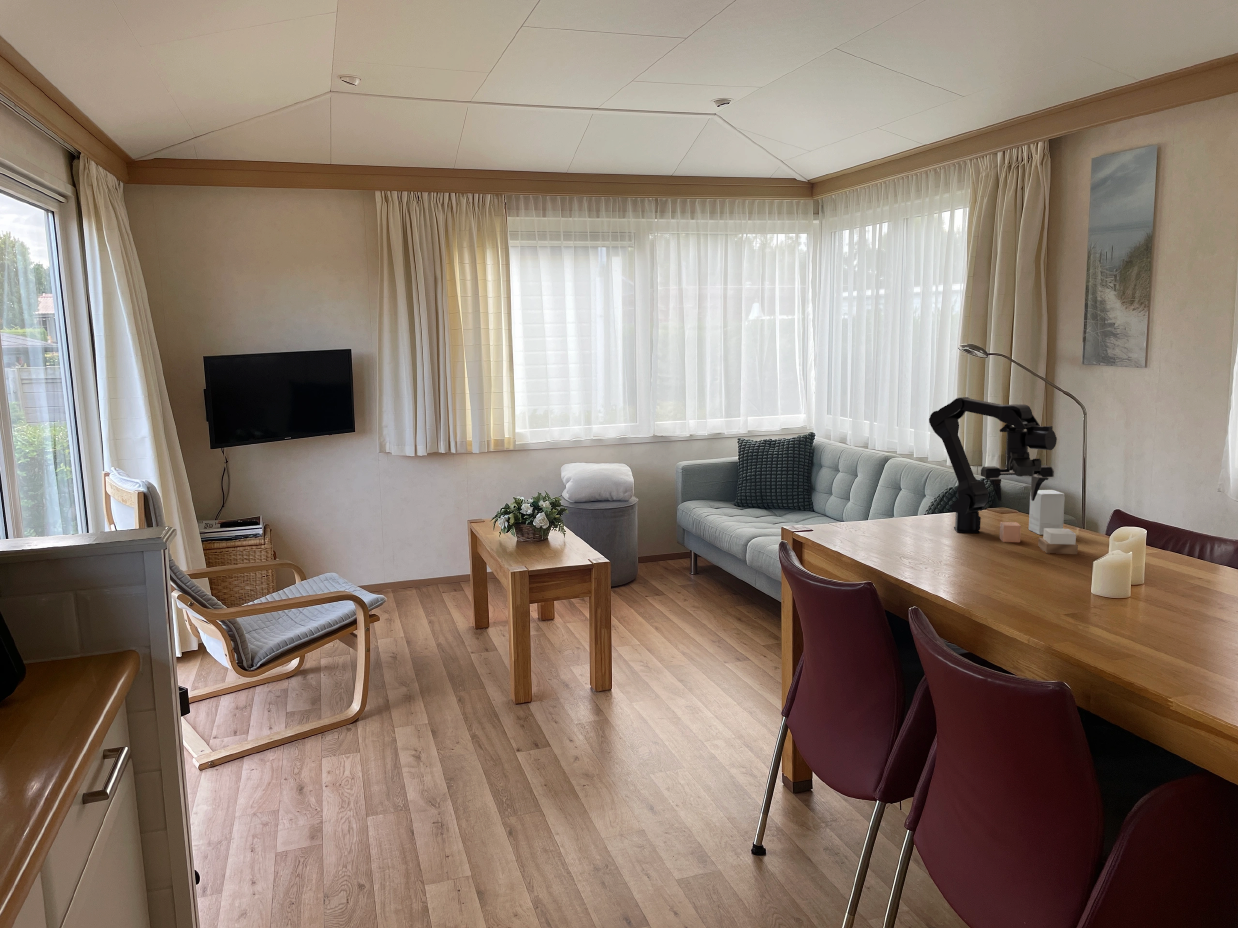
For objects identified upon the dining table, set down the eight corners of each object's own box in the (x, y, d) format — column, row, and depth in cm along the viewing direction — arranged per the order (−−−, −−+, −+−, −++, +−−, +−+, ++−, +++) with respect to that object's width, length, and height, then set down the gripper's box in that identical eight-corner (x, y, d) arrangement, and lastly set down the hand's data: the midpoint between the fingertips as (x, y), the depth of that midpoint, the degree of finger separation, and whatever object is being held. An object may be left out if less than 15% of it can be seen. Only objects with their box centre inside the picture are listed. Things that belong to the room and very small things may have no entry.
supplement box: (1063, 534, 260) (1065, 493, 258) (1038, 535, 260) (1040, 494, 258) (1051, 529, 267) (1054, 489, 265) (1027, 529, 267) (1029, 489, 265)
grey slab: (1050, 543, 238) (1050, 533, 238) (1043, 538, 245) (1043, 528, 244) (1075, 544, 237) (1076, 533, 237) (1067, 539, 243) (1068, 528, 243)
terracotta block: (1003, 542, 252) (1004, 525, 252) (999, 538, 257) (1000, 522, 256) (1020, 542, 252) (1020, 525, 251) (1016, 538, 256) (1016, 522, 255)
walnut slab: (1046, 554, 239) (1046, 544, 238) (1038, 547, 246) (1038, 537, 246) (1077, 555, 237) (1078, 545, 237) (1068, 548, 245) (1068, 538, 244)
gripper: (992, 451, 243) (991, 506, 245) (1061, 450, 241) (1060, 505, 243) (980, 447, 254) (979, 499, 256) (1047, 446, 252) (1045, 498, 254)
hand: (1016, 500), depth 252 cm, fingers open, 9 cm apart
